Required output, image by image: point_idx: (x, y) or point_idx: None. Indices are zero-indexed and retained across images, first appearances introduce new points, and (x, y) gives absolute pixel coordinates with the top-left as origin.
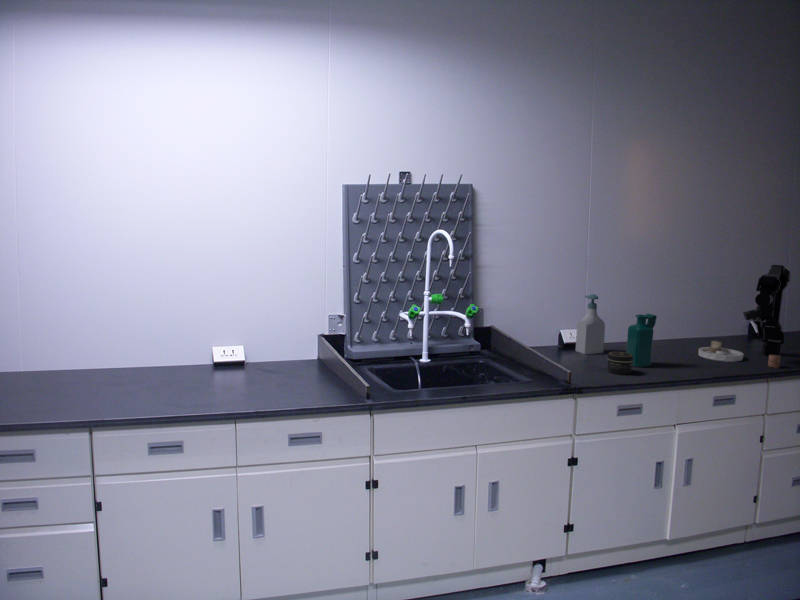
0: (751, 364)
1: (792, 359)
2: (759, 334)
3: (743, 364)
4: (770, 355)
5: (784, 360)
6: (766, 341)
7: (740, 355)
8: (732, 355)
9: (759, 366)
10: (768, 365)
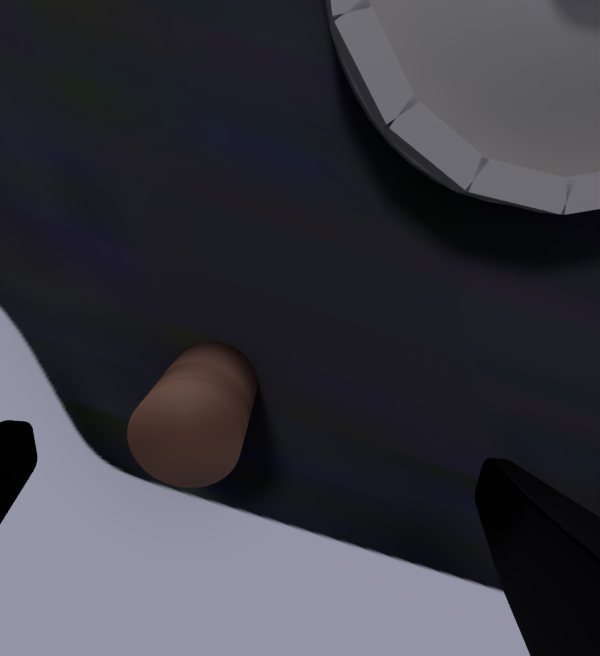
0: (254, 215)
1: None
2: (517, 514)
3: (225, 123)
4: (187, 404)
5: None
6: (18, 449)
7: (395, 125)
8: (552, 84)
9: (189, 266)
10: (204, 346)
